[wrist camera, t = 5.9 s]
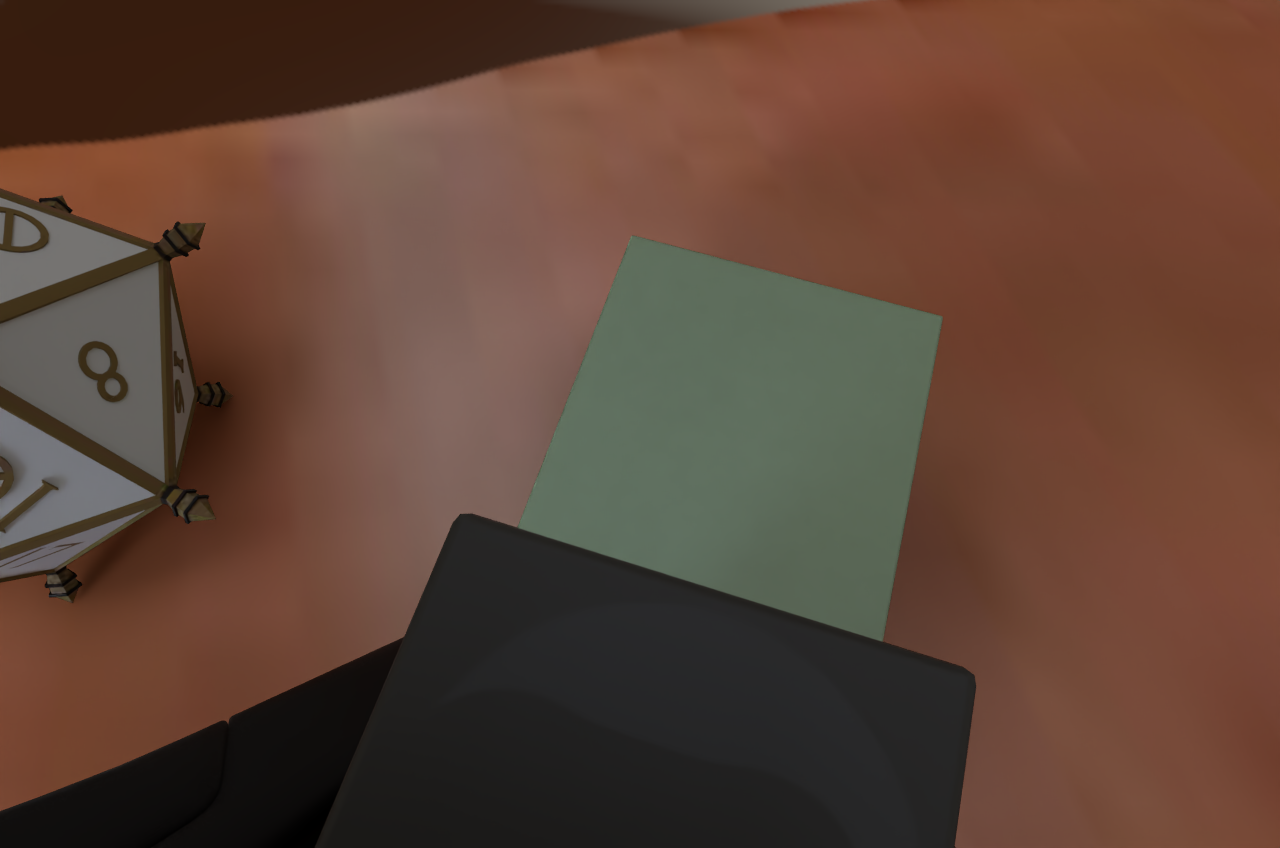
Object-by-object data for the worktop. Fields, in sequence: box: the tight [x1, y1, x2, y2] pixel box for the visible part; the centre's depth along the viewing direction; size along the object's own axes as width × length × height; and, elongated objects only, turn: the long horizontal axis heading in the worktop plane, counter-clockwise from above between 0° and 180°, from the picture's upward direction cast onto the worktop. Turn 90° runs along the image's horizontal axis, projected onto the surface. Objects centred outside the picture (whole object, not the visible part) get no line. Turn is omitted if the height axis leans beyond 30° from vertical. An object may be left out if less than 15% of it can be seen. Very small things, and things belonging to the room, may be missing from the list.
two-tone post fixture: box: [315, 236, 976, 848], centre depth 11 cm, size 11×6×13 cm, turn 163°
